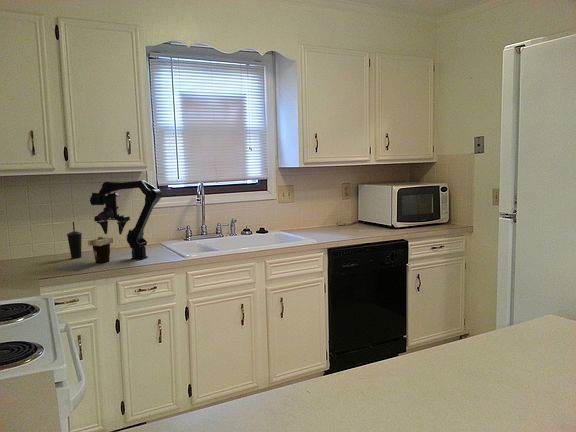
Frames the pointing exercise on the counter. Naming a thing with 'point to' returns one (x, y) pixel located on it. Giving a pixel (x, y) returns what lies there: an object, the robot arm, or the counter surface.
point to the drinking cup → (75, 243)
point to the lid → (100, 241)
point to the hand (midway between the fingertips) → (113, 234)
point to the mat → (77, 267)
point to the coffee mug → (102, 253)
